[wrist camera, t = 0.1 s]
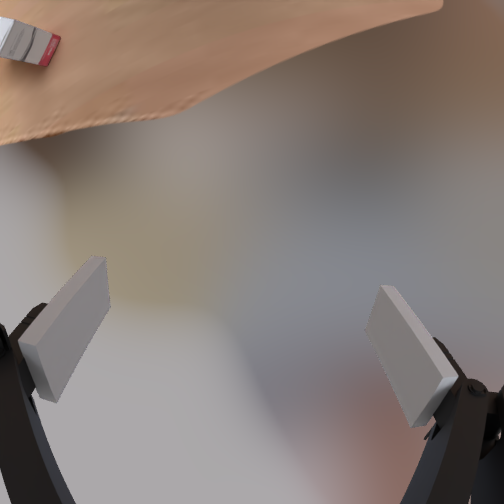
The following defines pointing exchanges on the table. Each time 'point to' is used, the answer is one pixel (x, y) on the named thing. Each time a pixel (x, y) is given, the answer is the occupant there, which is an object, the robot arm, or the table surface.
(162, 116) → the table surface
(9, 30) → the ink box
